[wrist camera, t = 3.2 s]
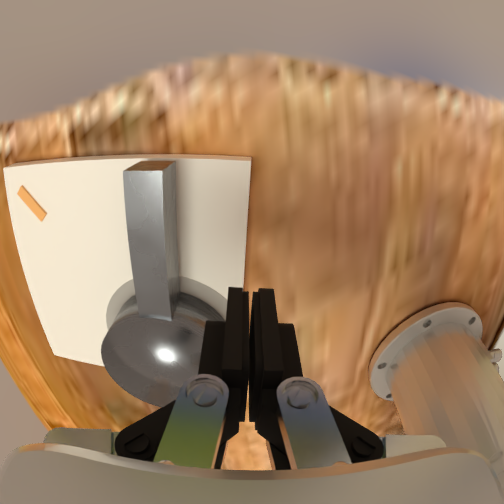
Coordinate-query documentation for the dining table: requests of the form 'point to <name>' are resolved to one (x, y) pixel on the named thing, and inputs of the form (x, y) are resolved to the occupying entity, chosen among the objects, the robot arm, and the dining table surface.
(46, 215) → the dial base
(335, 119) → the dining table surface
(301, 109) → the dining table surface
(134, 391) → the dial
